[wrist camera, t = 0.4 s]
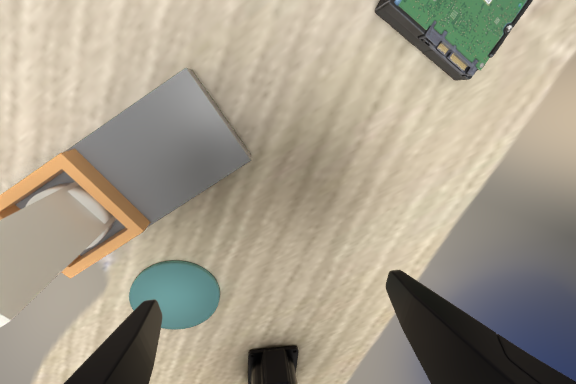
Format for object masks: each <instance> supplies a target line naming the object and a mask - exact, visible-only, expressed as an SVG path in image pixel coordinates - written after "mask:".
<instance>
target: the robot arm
mask: <svg viewBox="0 0 576 384" xmlns="http://www.w3.org/2000/svg"><path fill="white" fill-rule="evenodd" d="M386 290H387V293H388V295H389V298H390V300H391V303H392V305H393V308H394V310H395V313H396V315H397V317H398V320H399V322H400V324H401V327H402V329H403V331H404V333H405V335H406V337H407V338H408V340H409V342H410V344H411V346H412V348H413V350H414V352H415V354H416V356H417V357H418V360H419V361H420V363H421V365H422V367H423V369H424V371H425V373H426V375H427V376H428V379H429V380H430V382H431V384H576V382H575V381H574V380H572V379H570V378H569V377H567V376H565V375H563V374H562V373H560V372H558V371H557V370H555V369H553V368H551V367H550V366H548V365H546V364H545V363H543V362H541V361H540V360H538V359H536V358H535V357H533V356H531V355H530V354H528V353H527V352H525V351H524V350H522V349H520V348H519V347H517V346H516V345H514V344H513V343H511V342H509V341H508V340H506V339H505V338H503V337H502V336H500V335H499V334H496V333H495V332H494V331H492V330H491V329H489V328H488V327H486V326H485V325H483V324H482V323H480V322H479V321H477V320H476V319H474V318H473V317H471V316H470V315H468V314H467V313H465V312H464V311H462V310H461V309H459V308H457V307H456V306H454V305H453V304H451V303H450V302H448V301H447V300H445V299H444V298H442V297H440V296H439V295H438V294H436V293H435V292H433V291H432V290H430V289H429V288H427V287H426V286H424V285H423V284H421V283H419V282H418V281H416V280H415V279H413V278H412V277H410V276H409V275H407V274H406V273H404V272H403V271H401V270H393V271H390V272H389V274H388V278H387V282H386ZM161 324H162V312H161V309H160V307H159V304H158V301H157V300H155V299H153V300H146V301H143V302H142V303H141V304H140V305H139V306H138V307H137V308H136V309H135V310H134V311H133V312H132V313H131V314H130V315H129V316H128V317H127V318H126V320H125V321H124V322H123V323H122V324H121V325H120V326H119V327H118V328H117V329H116V330H115V331H114V332H113V333H112V334H111V335H110V336H109V337H108V338H107V339H106V340H105V341H104V342H103V343H102V344H101V345H100V346H99V348H98V349H97V350H96V351H95V352H94V353H93V354H92V355H91V356H90V357H89V358H88V359H87V360H86V361H85V362H84V363H83V364H82V365H81V366H80V367H79V368H78V369H77V370H76V371H75V372H74V373H73V375H72V376H71V377H70V378H69V379H68V380H67V381H66V382H65V383H64V384H149V381H150V377H151V374H152V370H153V366H154V361H155V356H156V351H157V346H158V340H159V335H160V330H161ZM297 358H298V347H297V346H289V347H279V348H269V349H259V350H251V351H249V353H248V384H297V379H296V366H297Z"/></svg>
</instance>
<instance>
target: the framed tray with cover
mask: <svg viewBox="0 0 576 384" xmlns="http://www.w3.org/2000/svg"><path fill="white" fill-rule="evenodd" d="M249 161H251V154H250V153H249V152H248V150H247V149H246V147H245V146H244V144H243V143H242V141H241V140H240V139H239V137H238V136H237V134H236V133H235V131H234V130H233V129H232V127H231V126H230V124H229V123H228V121H227V120H226V118H225V117H224V116H223V114H222V113H221V111H220V110H219V108H218V107H217V105H216V104H215V103H214V101H213V100H212V98H211V97H210V95H209V94H208V92H207V91H206V90H205V88H204V87H203V85H202V84H201V82H200V81H199V79H198V78H197V77H196V75H195V74H194V72H193V71H192V70H191V69H188V68H185V69H183V70H182V71H180V72H179V73H177V74H176V75H175V76H173V77H172V78H170V79H169V80H167V81H166V82H164V83H163V84H162V85H160V86H159V87H157V88H156V89H154V90H153V91H152V92H150V93H149V94H147V95H146V96H144V97H143V98H141V99H140V100H139V101H137V102H136V103H134V104H133V105H131V106H130V107H128V108H127V109H126V110H124V111H123V112H121V113H120V114H118V115H117V116H116V117H114V118H113V119H111V120H110V121H108V122H107V123H105V124H104V125H103V126H101V127H100V128H98V129H97V130H95V131H94V132H92V133H91V134H90V135H88V136H87V137H85V138H84V139H82V140H81V141H80V142H78V143H77V144H75V145H74V146H72V147H71V148H69V149H68V150H67V151H65V152H63V153H60V154H59V155H57V156H56V157H54V158H53V159H52V160H50V161H49V162H47V163H46V164H44V165H43V166H41V167H40V168H39V169H37V170H36V171H34V172H33V173H31V174H30V175H29V176H27V177H26V178H24V179H23V180H21V181H20V182H18V183H17V184H16V185H14V186H13V187H11V188H10V189H8V190H7V191H6V192H4V193H3V194H1V195H0V220H1V219H3V218H5V217H7V216H9V215H11V214H13V213H15V212H17V211H19V210H21V209H23V208H25V207H26V204H27V203H28V201H29V200H30V199H31V198H32V197H33V196H35V195H37V194H38V193H40V192H42V191H45V190H47V189H49V188H51V187H53V186H55V185H58V184H62V183H73V182H75V181H76V182H77V183H78V184H79V185H80V186H81V187H82V188H83V189H84V190H85V191H87V192H88V193H89V194H90V195H91V196H92V197H93V198H94V199H95V200H96V201H98V202H99V203H100V204H101V205H102V206H103V207H104V208H105V209H106V210H107V211H109V212H110V213H111V214H112V215H113V216H114V217H115V218H116V220H115V221H114V224H113V226H112V228H111V230H110V231H109V232H108V233H107V234H106V235H105V236H104V237H103V238H102V239H101V240H100V241H99V242H98V243H97V244H96V245H94V246H92V247H90V248H88V249H85V250H84V251H83V252H82V253H81V254H80V255H79V256H78V257H77V258H76V259H75V260H73V261H72V262H71V263H70V264H69V265H68V266H67V267H66V268H65V269H64V270H63V271H62V273H63V274H64V275H66V276H67V277H69V278H72V277H74V276H75V275H77V274H78V273H80V272H81V271H83V270H84V269H86V268H88V267H89V266H91V265H92V264H94V263H95V262H97V261H98V260H100V259H102V258H103V257H105V256H106V255H108V254H109V253H111V252H112V251H114V250H116V249H117V248H119V247H120V246H122V245H123V244H125V243H126V242H128V241H130V240H131V239H133V238H134V237H136V236H137V235H139V234H141V233H142V232H144V230H145V229H146V228H147V227H148V226H150V225H151V224H153V223H155V222H156V221H158V220H159V219H161V218H162V217H164V216H165V215H167V214H169V213H170V212H172V211H173V210H175V209H176V208H178V207H179V206H181V205H183V204H184V203H186V202H187V201H189V200H190V199H192V198H193V197H195V196H197V195H198V194H200V193H201V192H203V191H204V190H206V189H207V188H209V187H211V186H212V185H214V184H215V183H217V182H218V181H220V180H221V179H223V178H225V177H226V176H228V175H229V174H231V173H232V172H234V171H235V170H237V169H239V168H240V167H242V166H243V165H245V164H246V163H248V162H249Z"/></svg>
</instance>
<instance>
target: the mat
mask: <svg viewBox="0 0 576 384" xmlns="http://www.w3.org/2000/svg"><path fill="white" fill-rule="evenodd" d="M219 297H220V290H219V285H218V283H217V281H216V279H215V278H214V276H213V275H212V274H211V273H210V272H208V271H207V270H206V269H204V268H203V267H201V266H199V265H196V264H193V263H190V262H186V261H165V262H160V263H157V264H154V265H152V266H150V267H148V268H146V269H145V270H144V271H142V272H141V273H140V274H139V275H138V276H137V278H136V279H135V281H134V283H133V284H132V286H131V289H130V293H129V300H130V304H131V307H132V309H133V310H135V309H136V308H137V307H138V306H139V305H140V304H141V303H142V302H143V301H146V300H153V299H155V300H157V301H158V304H159V307H160V309H161V312H162V324H161V328H165V329H185V328H189V327H193V326H196V325H198V324H200V323H202V322H204V321H205V320H207V319H208V318H209V317H210V316H211V315H212V314H213V313H214V312H215V310H216V308H217V306H218V303H219Z"/></svg>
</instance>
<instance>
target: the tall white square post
mask: <svg viewBox="0 0 576 384" xmlns="http://www.w3.org/2000/svg"><path fill="white" fill-rule="evenodd" d="M115 220H116V218H115V217H114V216H113V215H112V214H111V213H110V212H109V211H107V210H106V209H105V208H104V207H103V206H102V205H101V204H100V203H99V202H98V201H96V200H95V199H94V198H93V197H92V196H91V195H90V194H89V193H88V192H87V191H85V190H84V189H83V188H82V187H81V186H80V185H79V184H78V183H77V182H76V181H75V182H73V183H62V184H58V185H55V186H53V187H51V188H49V189H47V190H45V191H42V192H40V193H38V194H37V195H35V196H33V197H32V198H31V199H30V200H29V201H28V203H27V204H26V207H25V208H23V209H21V210H19V211H17V212H15V213H13V214H11V215H9V216H7V217H5V218H3V219H1V220H0V327H1V326H3V325H5V324H6V323H8V322H10V321H11V320H12V319H13V318H14V317H15V316H16V315H17V314H18V313H19V312H20V311H22V310H23V309H24V308H25V307H26V306H27V305H28V304H29V303H30V302H31V301H32V300H33V299H34V298H35V297H36V296H37V295H38V294H39V293H40V292H41V291H42V290H43V289H44V288H45V287H46V286H47V285H49V284H50V283H51V282H52V280H54V279H55V278H56V277H57V276H58V275H59V274H60V273H61V272H62V271H63V270H64V269H65V268H66V267H67V266H68V265H69V264H70V263H71V262H72V261H73V260H75V259H76V258H77V257H78V256H79V255H80V254H81V253H82V252H83V251H84V250H85V249H88V248H90V247H92V246H94V245H96V244H97V243H98V242H99V241H100V240H101V239H102V238H103V237H104V236H105V235H106V234H107V233H108V232H109V231H110V230H111V228H112V226H113V224H114V221H115Z"/></svg>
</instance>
